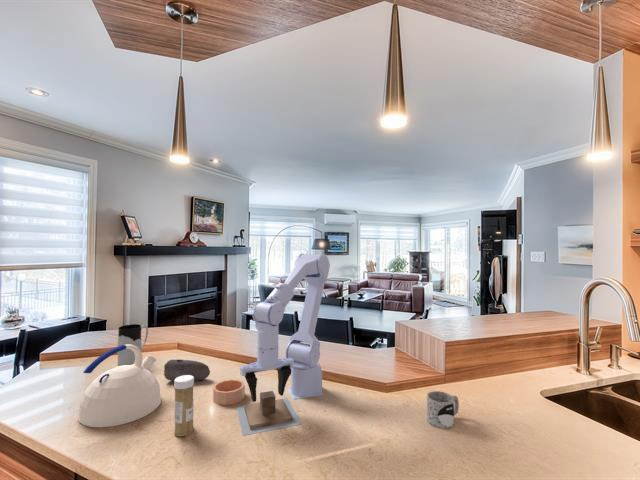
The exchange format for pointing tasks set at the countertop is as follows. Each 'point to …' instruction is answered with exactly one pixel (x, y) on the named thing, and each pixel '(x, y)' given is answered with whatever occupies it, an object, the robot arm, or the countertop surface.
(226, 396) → the terracotta bowl
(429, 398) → the mug
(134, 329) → the gray black pitcher
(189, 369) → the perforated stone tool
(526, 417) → the countertop surface
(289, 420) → the cover board
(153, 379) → the kettle
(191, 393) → the sprinkles bottle
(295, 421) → the rubber mat
